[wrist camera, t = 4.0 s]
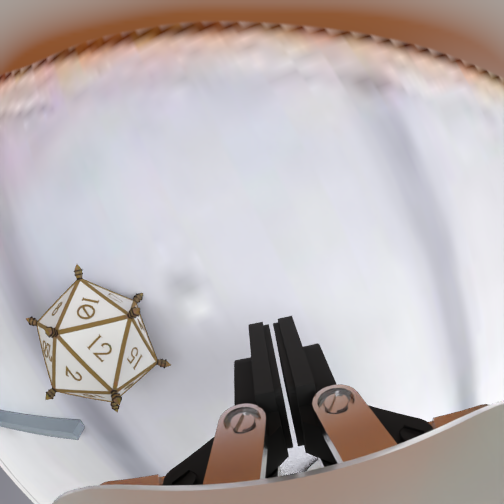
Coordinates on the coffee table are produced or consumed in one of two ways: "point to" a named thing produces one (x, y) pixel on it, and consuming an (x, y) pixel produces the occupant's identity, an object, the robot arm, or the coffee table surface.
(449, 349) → the coffee table surface
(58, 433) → the tray
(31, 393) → the coffee table surface
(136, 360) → the game die
